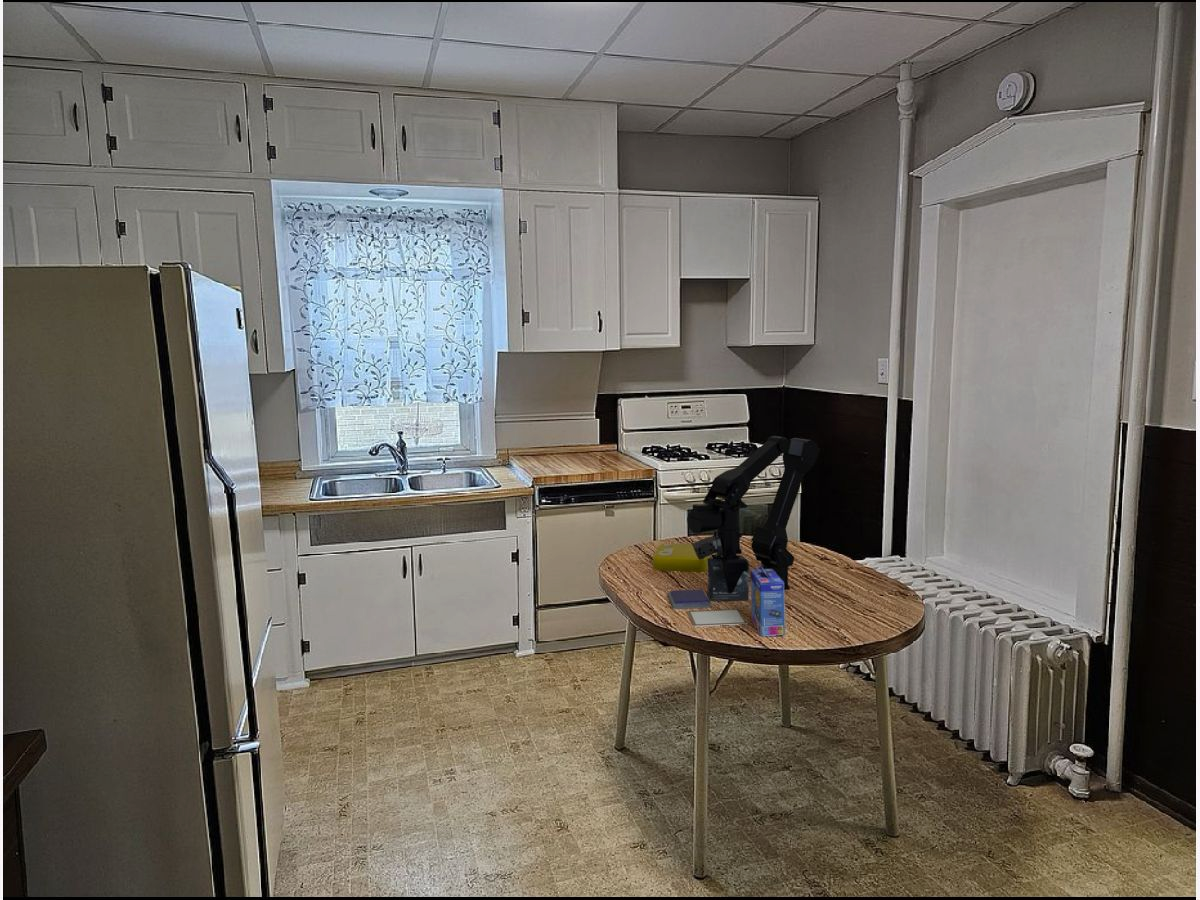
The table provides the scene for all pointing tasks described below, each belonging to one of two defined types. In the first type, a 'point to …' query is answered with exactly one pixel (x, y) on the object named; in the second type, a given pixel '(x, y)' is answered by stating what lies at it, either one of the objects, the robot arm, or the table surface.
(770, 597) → the ink cartridge box
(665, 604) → the table surface
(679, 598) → the ink pad
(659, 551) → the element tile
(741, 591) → the box
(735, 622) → the card
